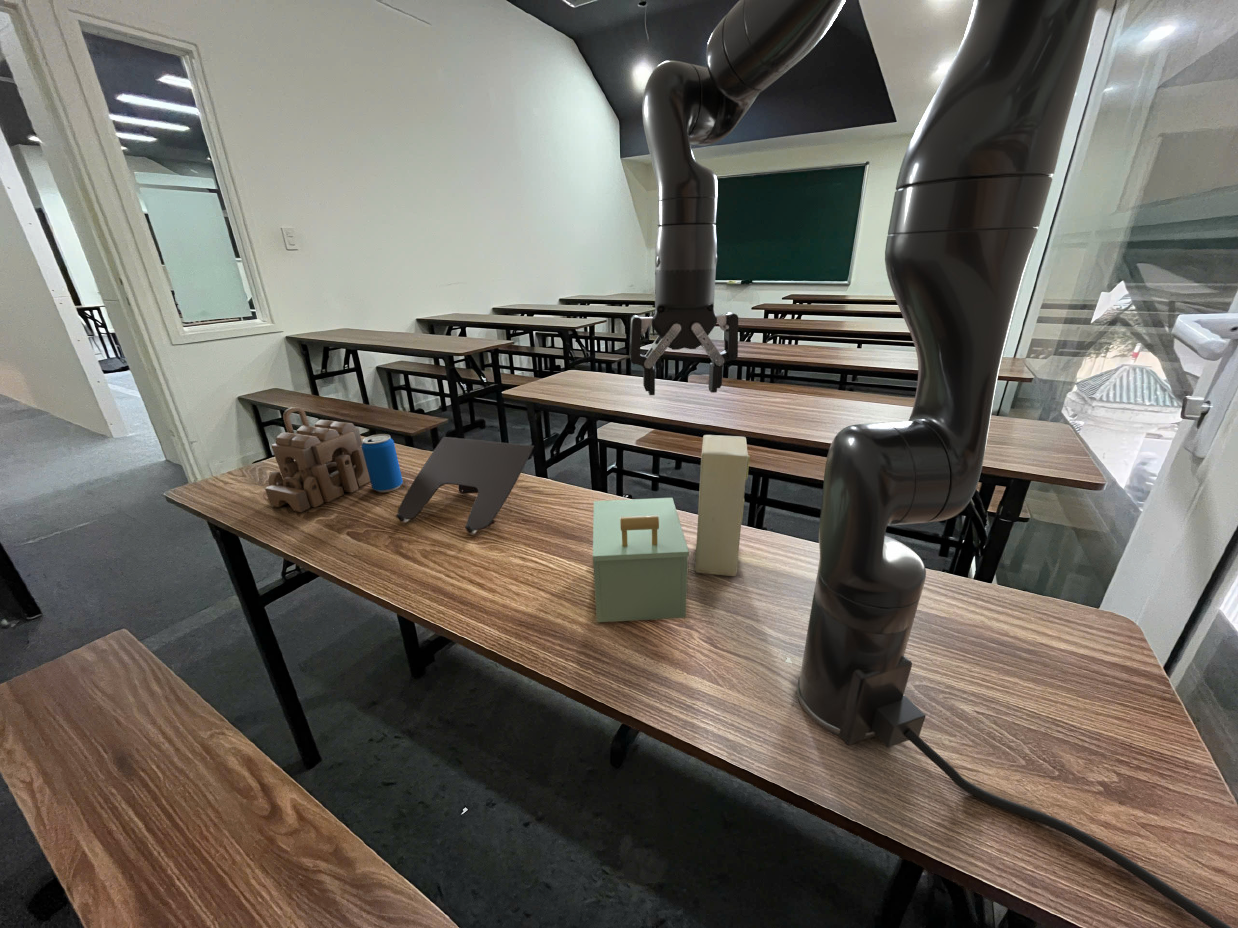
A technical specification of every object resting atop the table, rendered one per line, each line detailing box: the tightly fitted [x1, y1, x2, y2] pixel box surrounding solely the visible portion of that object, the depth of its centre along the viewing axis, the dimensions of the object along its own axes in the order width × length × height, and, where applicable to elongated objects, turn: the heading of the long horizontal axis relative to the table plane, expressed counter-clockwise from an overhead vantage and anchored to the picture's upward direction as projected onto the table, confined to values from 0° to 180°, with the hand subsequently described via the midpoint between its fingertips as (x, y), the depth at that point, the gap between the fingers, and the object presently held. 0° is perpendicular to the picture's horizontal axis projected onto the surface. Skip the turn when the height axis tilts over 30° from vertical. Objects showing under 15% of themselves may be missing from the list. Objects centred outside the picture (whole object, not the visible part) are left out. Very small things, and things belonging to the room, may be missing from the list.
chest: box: [592, 557, 689, 623], centre depth 72 cm, size 15×13×11 cm
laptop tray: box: [395, 436, 535, 536], centre depth 100 cm, size 23×23×9 cm
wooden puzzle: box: [264, 406, 371, 513], centre depth 107 cm, size 22×15×19 cm, turn 158°
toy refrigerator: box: [694, 434, 751, 577], centre depth 76 cm, size 8×7×21 cm
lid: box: [592, 497, 690, 562], centre depth 68 cm, size 15×13×5 cm
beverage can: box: [361, 433, 404, 493], centre depth 107 cm, size 6×6×12 cm
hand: (681, 392), depth 66 cm, fingers open, 8 cm apart
